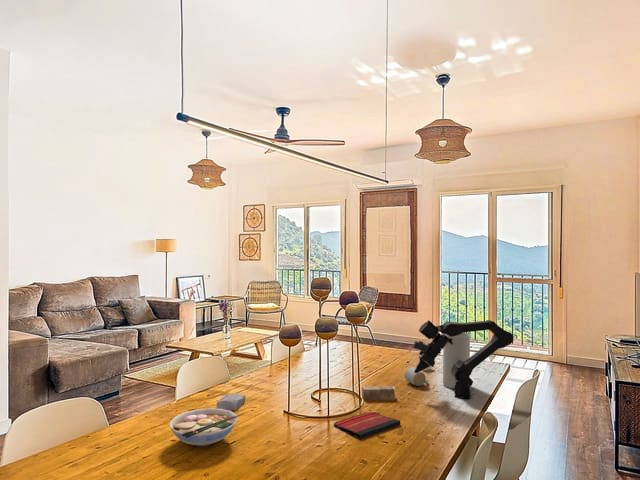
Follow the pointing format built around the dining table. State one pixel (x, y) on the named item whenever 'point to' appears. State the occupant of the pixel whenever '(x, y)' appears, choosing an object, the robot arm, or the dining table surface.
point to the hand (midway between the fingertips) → (415, 372)
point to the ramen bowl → (203, 426)
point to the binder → (366, 424)
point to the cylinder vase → (454, 356)
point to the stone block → (231, 402)
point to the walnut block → (378, 392)
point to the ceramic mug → (415, 377)
